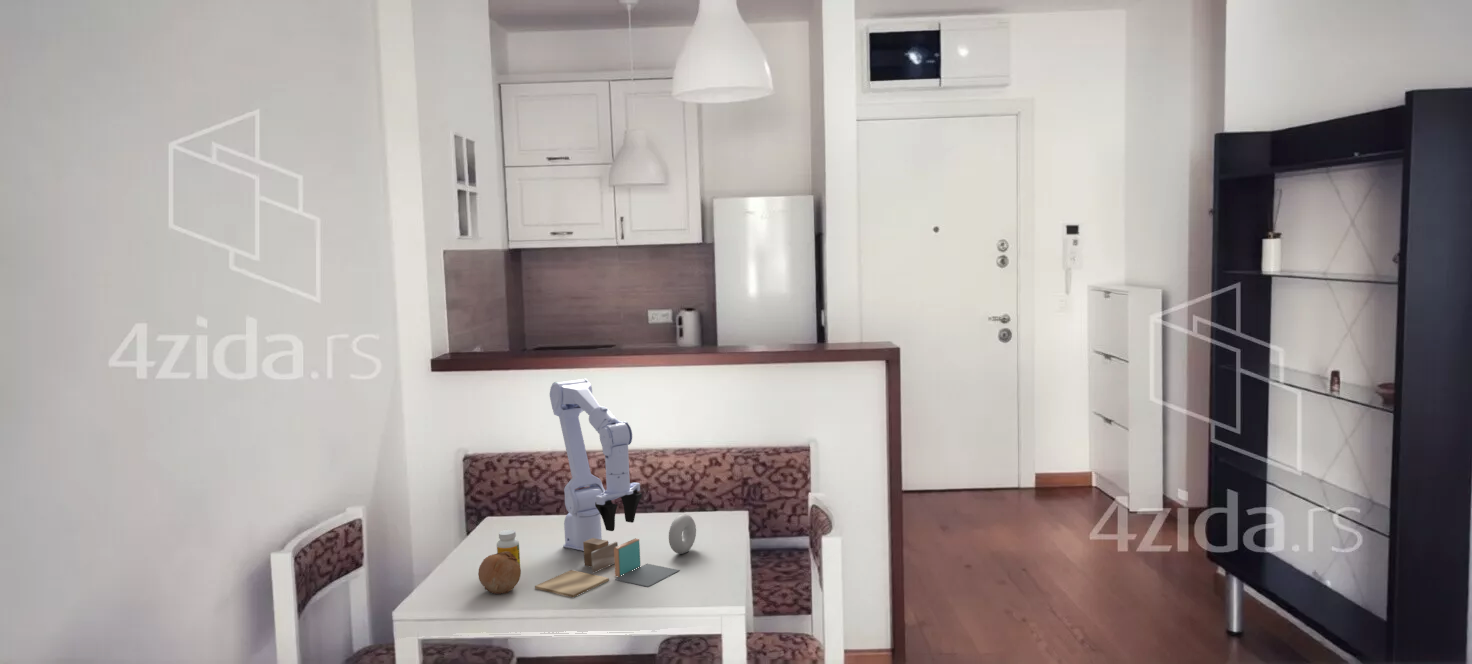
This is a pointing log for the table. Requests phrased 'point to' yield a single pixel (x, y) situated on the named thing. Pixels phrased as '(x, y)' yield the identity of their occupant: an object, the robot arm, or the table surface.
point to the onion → (499, 572)
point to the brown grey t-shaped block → (598, 553)
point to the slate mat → (647, 575)
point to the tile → (627, 557)
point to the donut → (675, 533)
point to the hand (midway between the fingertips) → (620, 526)
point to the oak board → (571, 583)
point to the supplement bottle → (508, 543)
